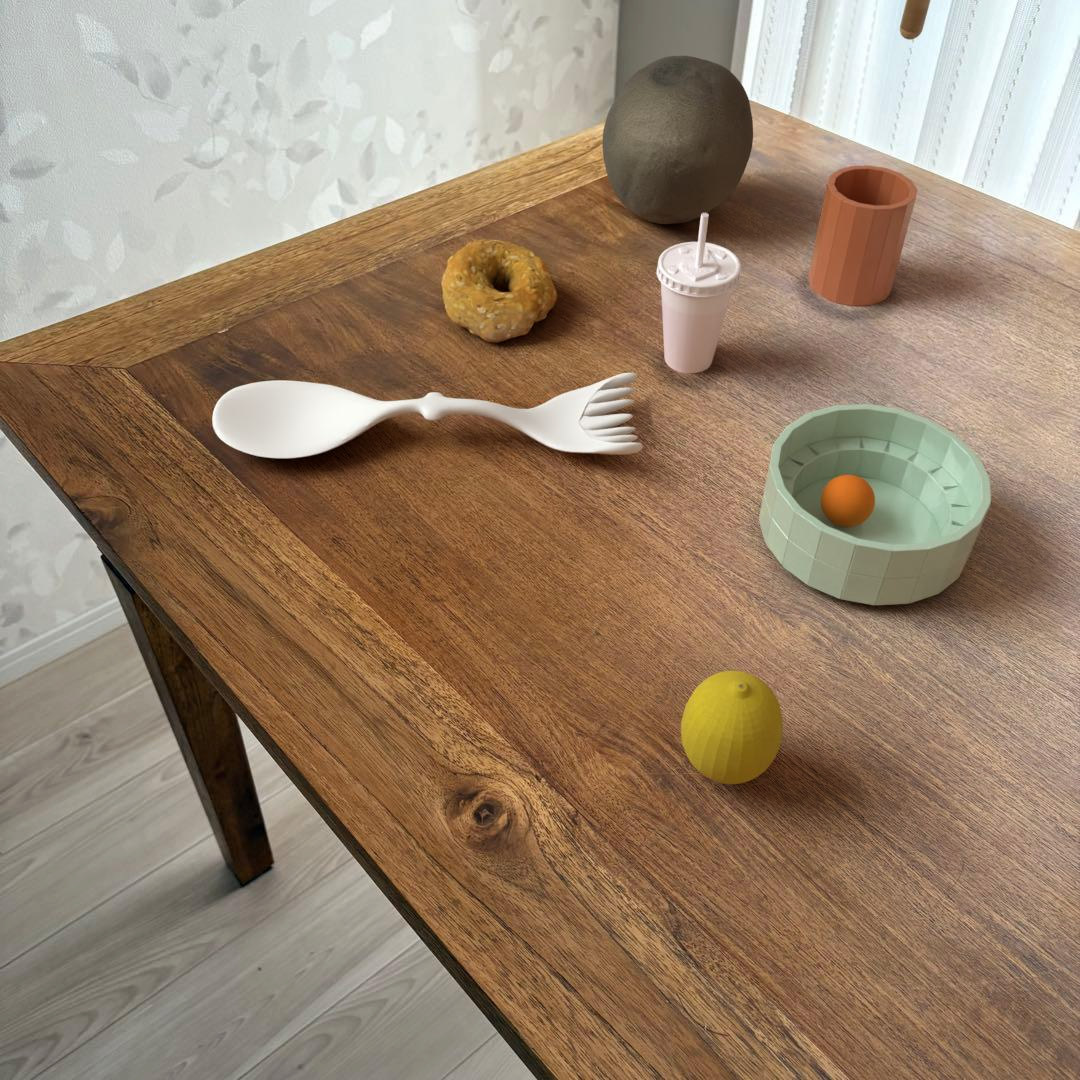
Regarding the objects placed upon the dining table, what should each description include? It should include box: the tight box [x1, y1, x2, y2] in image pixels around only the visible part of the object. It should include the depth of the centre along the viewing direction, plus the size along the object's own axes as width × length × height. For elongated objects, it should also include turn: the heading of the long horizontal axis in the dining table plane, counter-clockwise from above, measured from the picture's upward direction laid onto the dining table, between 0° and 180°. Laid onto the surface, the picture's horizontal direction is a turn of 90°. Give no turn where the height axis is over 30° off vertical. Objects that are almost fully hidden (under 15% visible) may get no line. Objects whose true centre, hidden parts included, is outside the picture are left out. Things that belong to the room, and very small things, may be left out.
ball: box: [821, 475, 875, 527], centre depth 76 cm, size 4×4×4 cm
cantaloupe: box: [602, 55, 754, 225], centre depth 102 cm, size 14×14×15 cm
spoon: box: [211, 372, 644, 460], centre depth 84 cm, size 9×32×4 cm, turn 89°
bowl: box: [758, 403, 992, 606], centre depth 75 cm, size 14×14×6 cm
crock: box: [807, 164, 918, 307], centre depth 95 cm, size 7×7×10 cm
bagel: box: [440, 238, 558, 343], centre depth 95 cm, size 10×11×5 cm
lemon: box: [680, 670, 784, 785], centre depth 62 cm, size 6×6×8 cm
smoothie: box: [656, 213, 742, 374], centre depth 86 cm, size 6×6×14 cm
